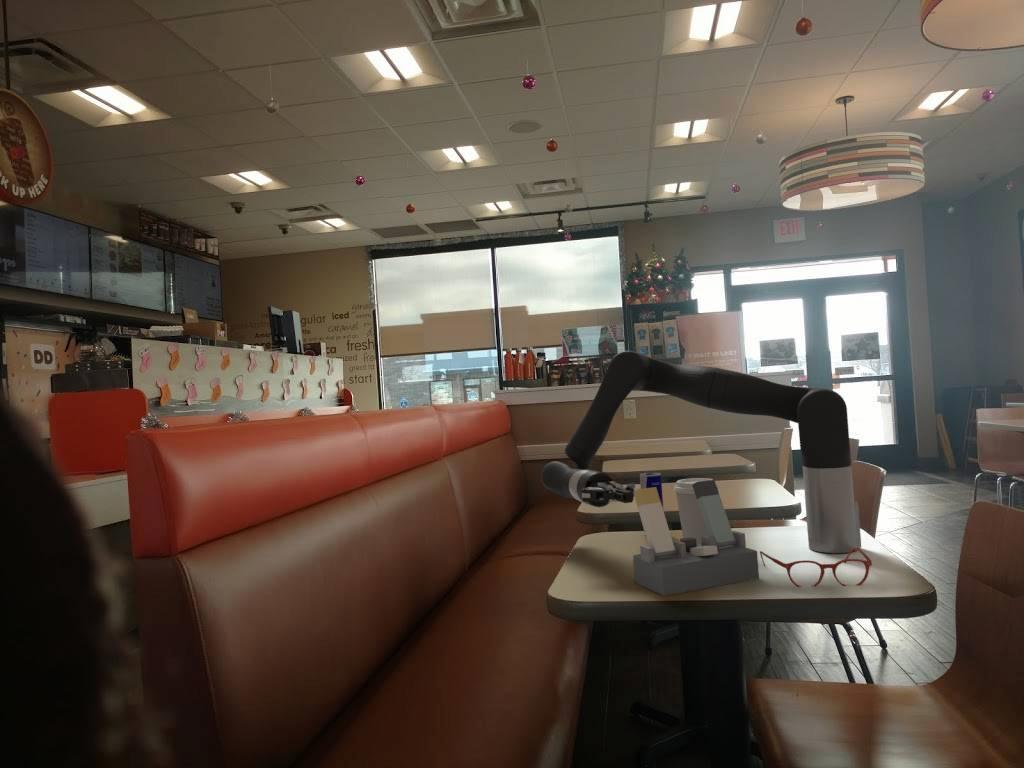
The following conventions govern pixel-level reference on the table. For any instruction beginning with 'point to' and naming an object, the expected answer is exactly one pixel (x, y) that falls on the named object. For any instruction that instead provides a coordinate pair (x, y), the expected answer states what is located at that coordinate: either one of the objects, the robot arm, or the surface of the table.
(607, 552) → the table surface
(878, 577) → the table surface
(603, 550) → the table surface
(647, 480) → the beverage can
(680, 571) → the console
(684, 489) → the coffee cup
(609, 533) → the table surface
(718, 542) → the teal lever
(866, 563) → the red eyeglasses
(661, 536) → the white and yellow lever
